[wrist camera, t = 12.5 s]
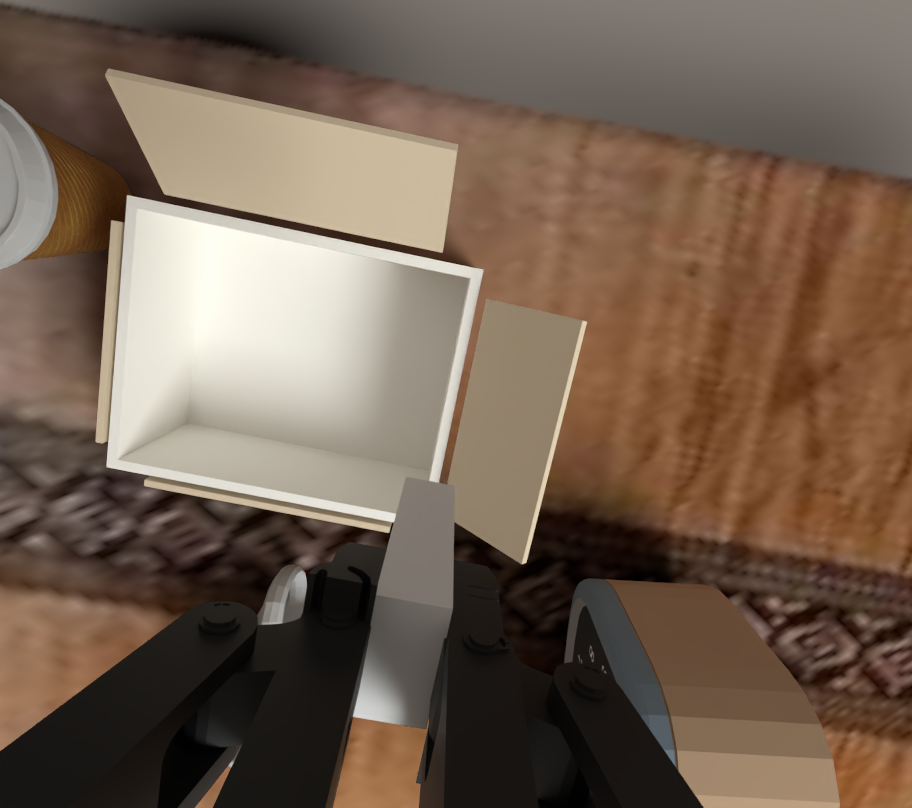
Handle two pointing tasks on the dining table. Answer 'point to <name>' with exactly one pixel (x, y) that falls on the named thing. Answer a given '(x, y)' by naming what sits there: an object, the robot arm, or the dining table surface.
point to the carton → (278, 363)
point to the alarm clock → (706, 692)
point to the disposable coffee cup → (52, 194)
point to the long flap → (290, 162)
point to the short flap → (512, 422)
